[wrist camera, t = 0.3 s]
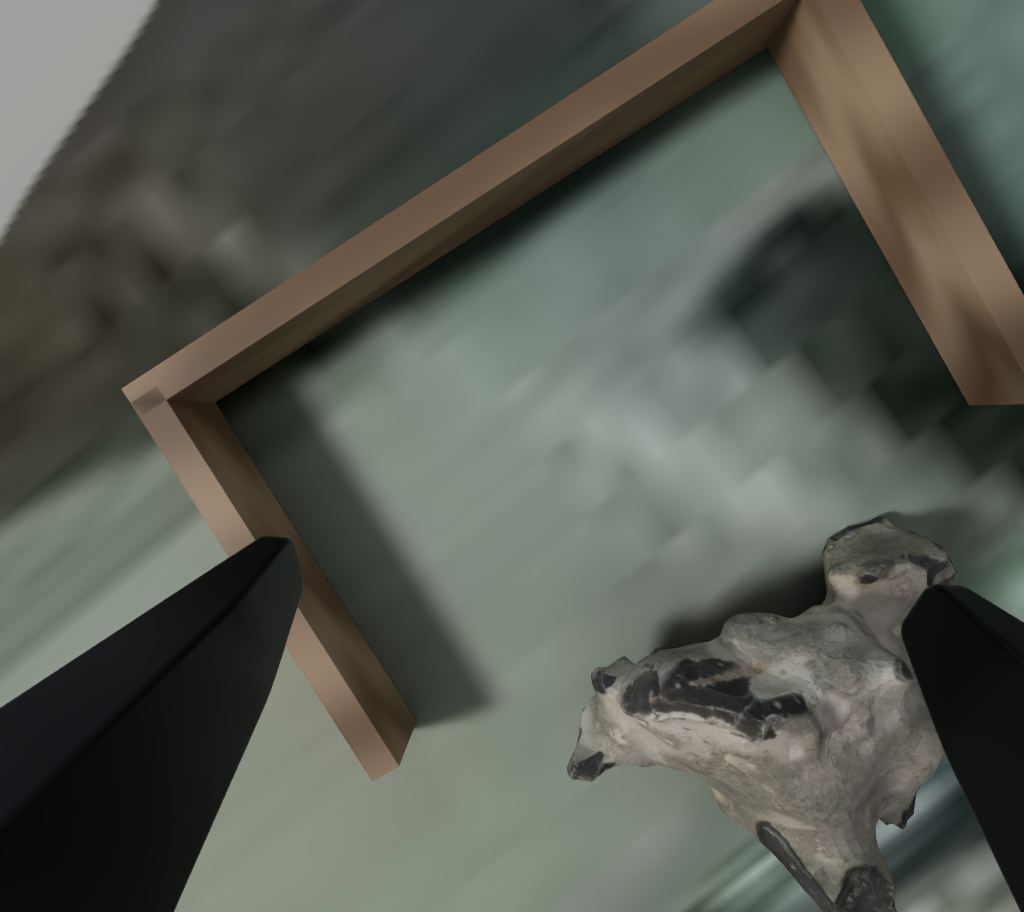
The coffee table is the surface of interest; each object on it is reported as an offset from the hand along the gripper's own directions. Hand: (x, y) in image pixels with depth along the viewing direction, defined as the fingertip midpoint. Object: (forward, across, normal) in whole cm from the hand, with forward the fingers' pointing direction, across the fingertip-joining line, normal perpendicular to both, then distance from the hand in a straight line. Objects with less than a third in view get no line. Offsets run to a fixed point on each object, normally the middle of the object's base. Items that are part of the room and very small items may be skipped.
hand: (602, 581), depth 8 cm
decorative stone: (+9, -9, +14) cm, 19 cm away
